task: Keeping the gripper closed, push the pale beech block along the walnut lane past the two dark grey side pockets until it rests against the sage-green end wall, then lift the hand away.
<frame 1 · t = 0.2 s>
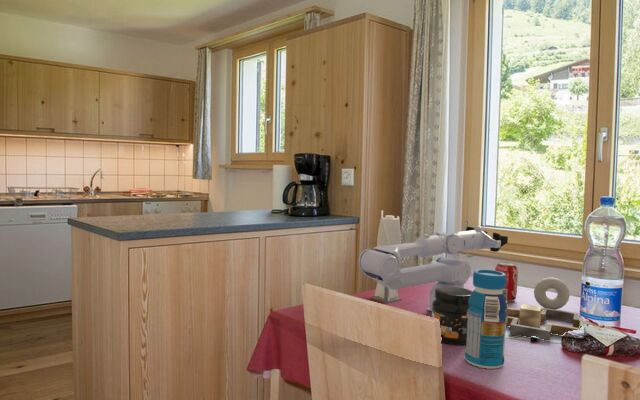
hand: (496, 237, 157), 21 cm above the table, tool horizontal, fingers open, 7 cm apart
supplement container: (451, 339, 125), on the table
skyscraper: (385, 298, 161), on the table
block: (529, 325, 138), on the table
donut: (550, 310, 154), on the table
lane: (529, 324, 138), on the table
soda can: (504, 300, 164), on the table
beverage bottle: (484, 363, 110), on the table
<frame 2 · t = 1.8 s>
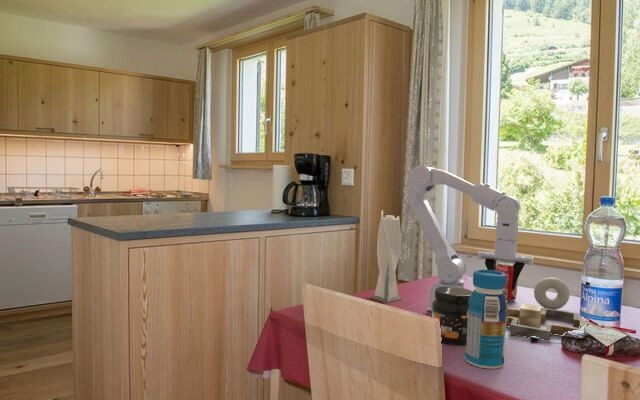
hand: (503, 287, 141), 9 cm above the table, tool pointing down, fingers open, 5 cm apart
nothing on the table moved.
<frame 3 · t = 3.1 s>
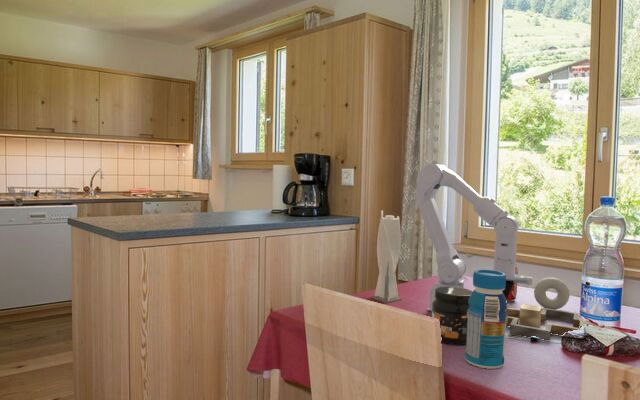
hand: (502, 306, 141), 4 cm above the table, tool pointing down, fingers closed
nothing on the table moved.
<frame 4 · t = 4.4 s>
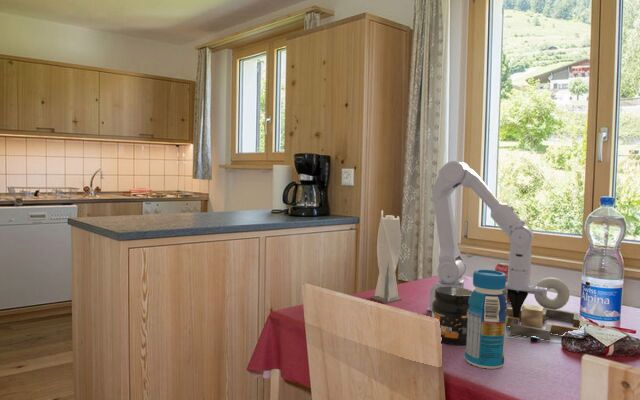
hand: (516, 317, 140), 1 cm above the table, tool pointing down, fingers closed
block: (531, 325, 138), on the table, touching gripper
everything else where it was.
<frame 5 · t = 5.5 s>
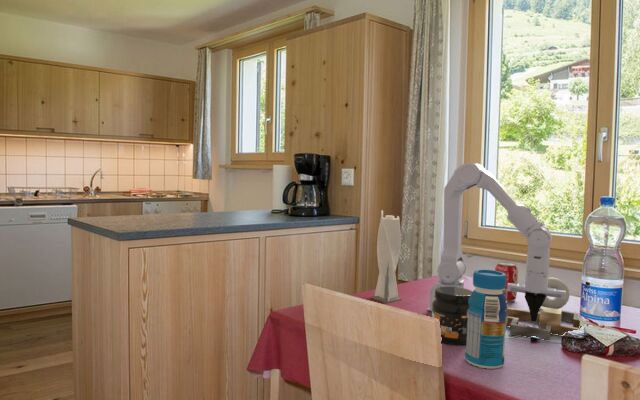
hand: (533, 320, 137), 1 cm above the table, tool pointing down, fingers closed
block: (549, 328, 136), on the table, touching gripper
everything else where it was.
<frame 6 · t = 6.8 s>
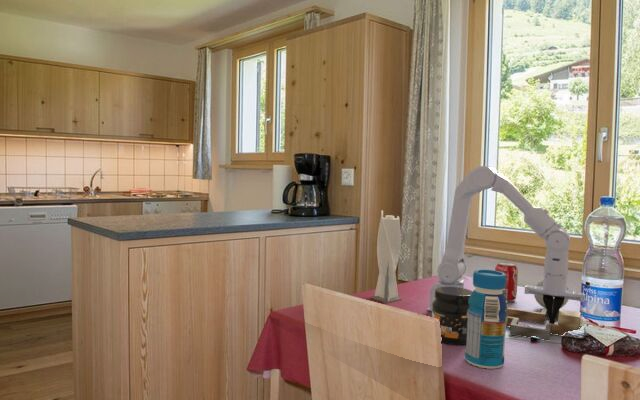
hand: (551, 323, 135), 1 cm above the table, tool pointing down, fingers closed
block: (568, 331, 133), on the table, touching gripper, lane
everything else where it was.
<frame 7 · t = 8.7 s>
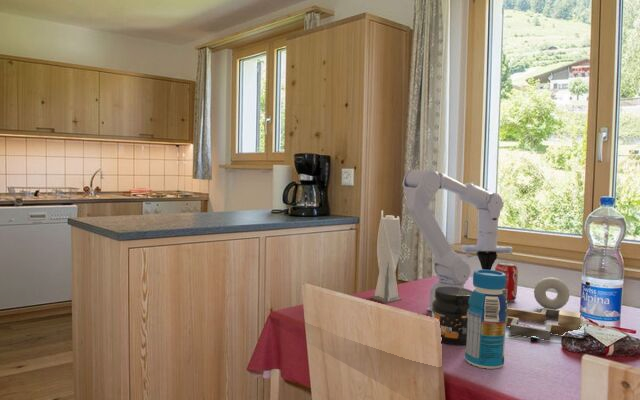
hand: (485, 276, 153), 10 cm above the table, tool pointing down, fingers closed
block: (568, 332, 133), on the table
everything else where it was.
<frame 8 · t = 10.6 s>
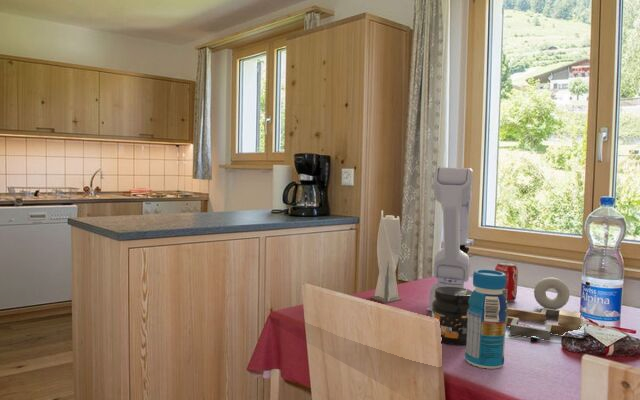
hand: (456, 269, 161), 10 cm above the table, tool pointing down, fingers closed
nothing on the table moved.
at the end: block inside the target area (0.3 cm from its centre), on the table; block tilted 0°; block moved 9.6 cm from its start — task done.
